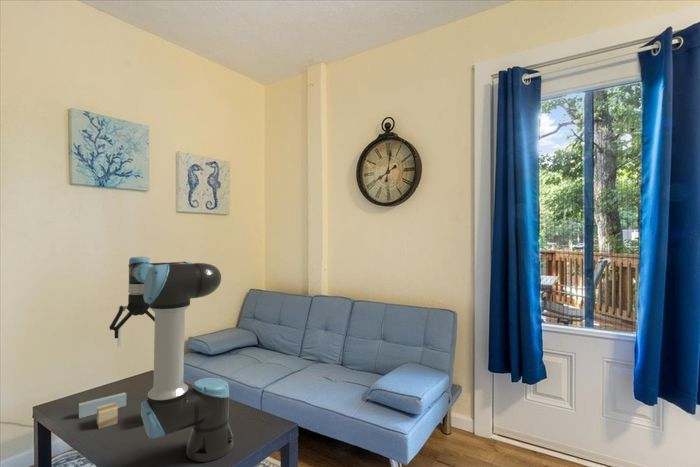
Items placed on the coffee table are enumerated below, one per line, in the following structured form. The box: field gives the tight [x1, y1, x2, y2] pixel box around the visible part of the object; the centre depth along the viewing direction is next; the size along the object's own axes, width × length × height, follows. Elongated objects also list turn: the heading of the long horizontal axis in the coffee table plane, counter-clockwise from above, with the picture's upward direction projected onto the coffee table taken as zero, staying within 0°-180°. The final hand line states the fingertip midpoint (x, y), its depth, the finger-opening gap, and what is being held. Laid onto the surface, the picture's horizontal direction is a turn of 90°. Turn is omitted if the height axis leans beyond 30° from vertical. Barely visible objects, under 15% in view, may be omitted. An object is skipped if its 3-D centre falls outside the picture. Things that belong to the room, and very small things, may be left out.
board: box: [78, 392, 127, 419], centre depth 146 cm, size 2×16×5 cm, turn 131°
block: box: [96, 403, 119, 430], centre depth 137 cm, size 6×6×6 cm
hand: (137, 342), depth 149 cm, fingers open, 13 cm apart
